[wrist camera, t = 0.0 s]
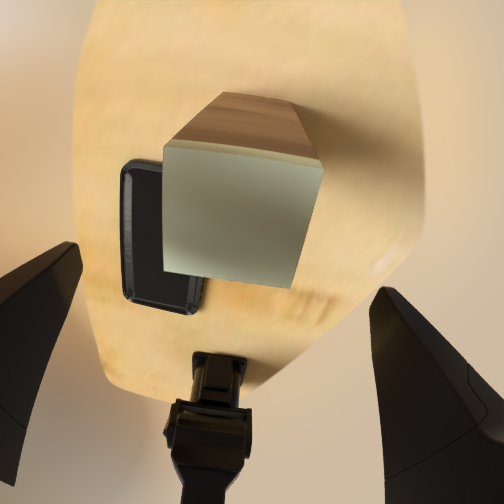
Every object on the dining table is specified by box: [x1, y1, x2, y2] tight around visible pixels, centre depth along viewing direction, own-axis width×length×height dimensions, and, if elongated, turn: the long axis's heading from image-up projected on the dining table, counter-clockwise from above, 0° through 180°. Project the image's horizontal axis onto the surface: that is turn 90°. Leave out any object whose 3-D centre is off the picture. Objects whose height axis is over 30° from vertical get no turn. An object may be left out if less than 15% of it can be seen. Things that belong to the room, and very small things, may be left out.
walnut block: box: [162, 92, 324, 289], centre depth 15 cm, size 4×4×13 cm
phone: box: [120, 159, 205, 315], centre depth 26 cm, size 8×1×15 cm
